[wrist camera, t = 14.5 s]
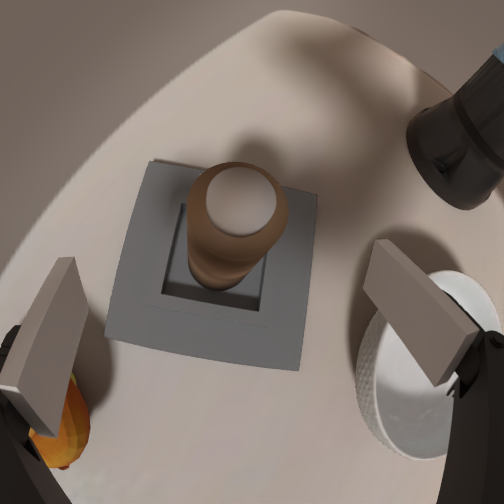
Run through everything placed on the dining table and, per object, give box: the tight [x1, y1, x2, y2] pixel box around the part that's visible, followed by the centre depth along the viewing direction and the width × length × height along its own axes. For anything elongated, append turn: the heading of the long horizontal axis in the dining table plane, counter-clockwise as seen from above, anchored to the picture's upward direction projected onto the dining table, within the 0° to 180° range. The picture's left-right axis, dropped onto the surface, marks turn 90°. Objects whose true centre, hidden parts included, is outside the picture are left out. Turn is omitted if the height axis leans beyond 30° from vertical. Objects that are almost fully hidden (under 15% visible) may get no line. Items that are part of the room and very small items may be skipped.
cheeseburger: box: [29, 372, 90, 470], centre depth 17 cm, size 10×11×10 cm
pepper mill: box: [187, 162, 289, 291], centre depth 20 cm, size 5×5×12 cm
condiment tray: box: [104, 161, 317, 371], centre depth 25 cm, size 16×16×2 cm
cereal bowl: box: [355, 270, 503, 460], centre depth 23 cm, size 17×17×7 cm
